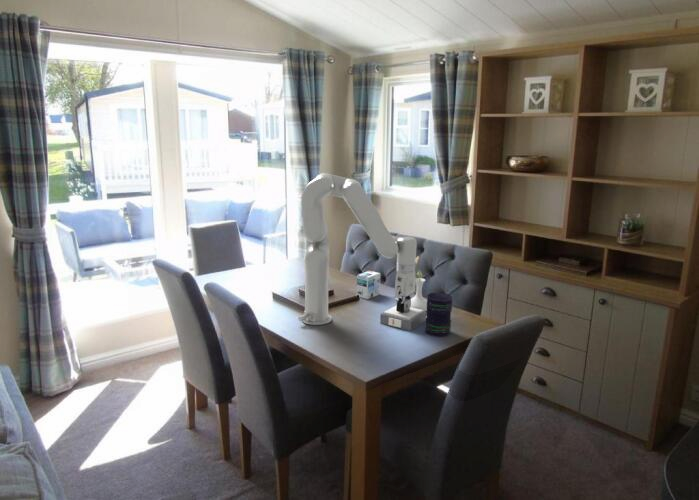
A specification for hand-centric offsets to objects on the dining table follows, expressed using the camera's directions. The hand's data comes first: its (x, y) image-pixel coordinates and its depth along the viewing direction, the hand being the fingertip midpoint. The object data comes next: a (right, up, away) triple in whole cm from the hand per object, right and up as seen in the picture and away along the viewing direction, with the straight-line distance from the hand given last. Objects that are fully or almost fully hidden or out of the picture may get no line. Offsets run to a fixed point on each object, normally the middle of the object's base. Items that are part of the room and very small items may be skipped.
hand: (403, 309), depth 218 cm
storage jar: (+13, -8, -9) cm, 17 cm away
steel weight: (0, -1, 0) cm, 1 cm away
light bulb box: (-13, +3, +34) cm, 37 cm away
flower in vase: (+8, -2, +16) cm, 18 cm away
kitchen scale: (0, -5, +1) cm, 6 cm away
